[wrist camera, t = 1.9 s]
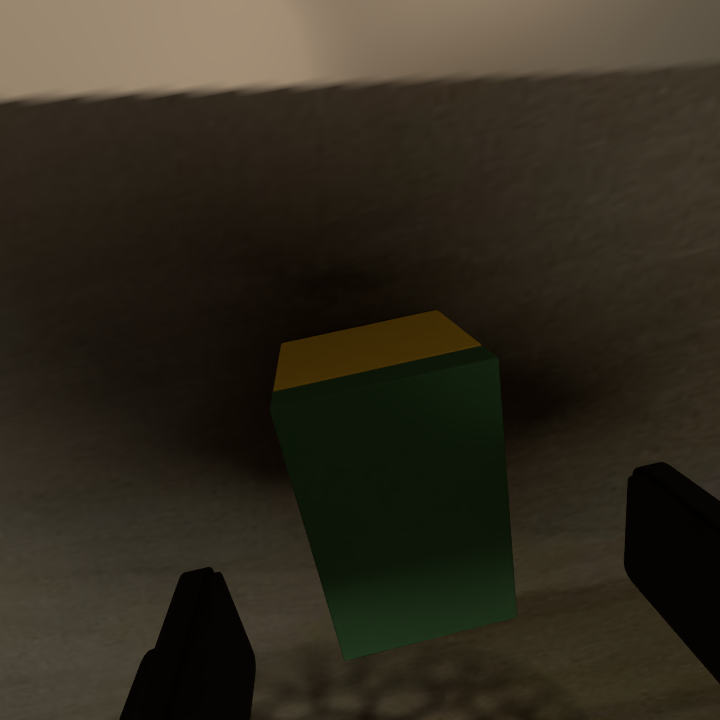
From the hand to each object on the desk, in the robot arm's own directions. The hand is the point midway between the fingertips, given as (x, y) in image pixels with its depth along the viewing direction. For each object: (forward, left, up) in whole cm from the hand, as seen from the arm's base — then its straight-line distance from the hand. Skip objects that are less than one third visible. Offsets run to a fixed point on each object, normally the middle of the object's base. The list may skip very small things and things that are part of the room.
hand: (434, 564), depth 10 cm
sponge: (0, 0, -6) cm, 6 cm away
